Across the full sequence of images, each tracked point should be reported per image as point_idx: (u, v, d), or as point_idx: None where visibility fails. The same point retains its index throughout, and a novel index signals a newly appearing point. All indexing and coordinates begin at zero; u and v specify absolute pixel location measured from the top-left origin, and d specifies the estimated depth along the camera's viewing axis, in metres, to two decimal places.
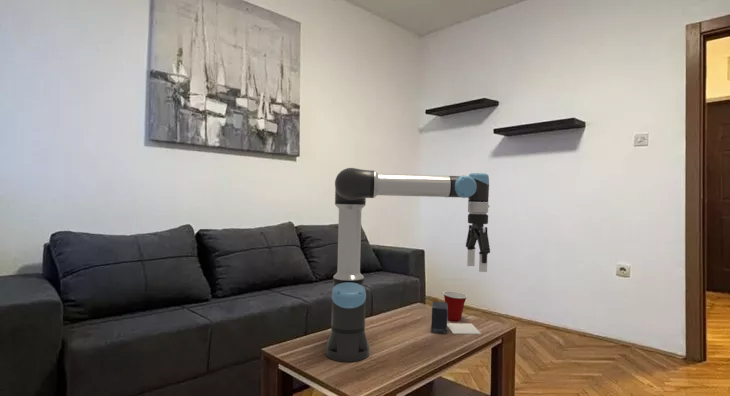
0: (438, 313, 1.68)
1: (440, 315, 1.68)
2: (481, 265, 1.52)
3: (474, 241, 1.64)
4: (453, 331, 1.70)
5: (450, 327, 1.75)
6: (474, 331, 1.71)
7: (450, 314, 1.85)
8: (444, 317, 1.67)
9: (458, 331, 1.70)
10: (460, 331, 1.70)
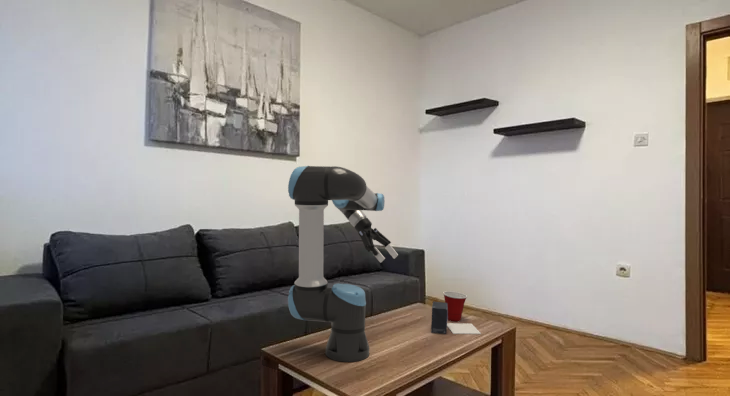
0: (438, 313, 1.68)
1: (439, 315, 1.68)
2: None
3: None
4: (453, 331, 1.70)
5: (450, 327, 1.75)
6: (474, 331, 1.71)
7: (450, 314, 1.85)
8: (444, 317, 1.67)
9: (458, 331, 1.70)
10: (460, 331, 1.70)
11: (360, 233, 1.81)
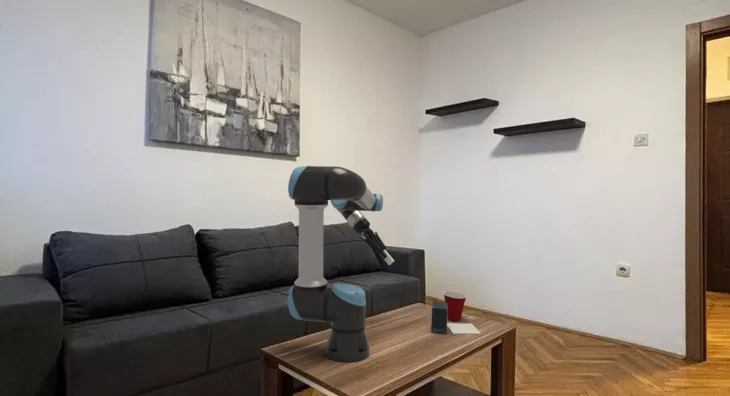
0: (438, 313, 1.68)
1: (439, 315, 1.68)
2: None
3: None
4: (453, 331, 1.70)
5: (450, 327, 1.75)
6: (474, 331, 1.71)
7: (450, 314, 1.85)
8: (444, 317, 1.67)
9: (458, 331, 1.70)
10: (460, 331, 1.70)
11: (363, 237, 1.81)
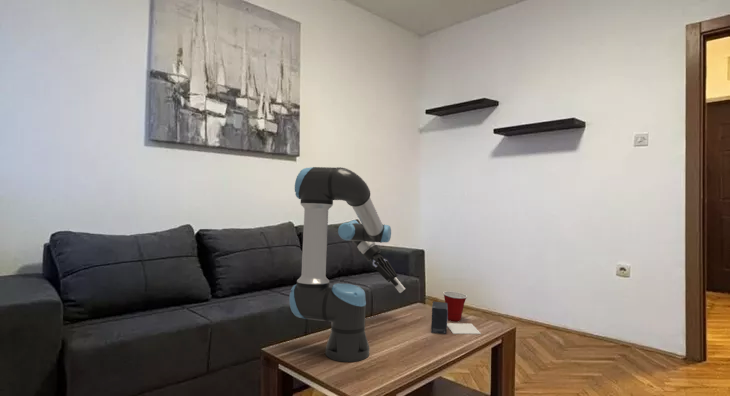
0: (438, 313, 1.68)
1: (439, 315, 1.68)
2: None
3: None
4: (453, 331, 1.70)
5: (450, 327, 1.75)
6: (474, 331, 1.71)
7: (450, 314, 1.85)
8: (444, 317, 1.67)
9: (458, 331, 1.70)
10: (460, 331, 1.70)
11: (374, 265, 1.81)
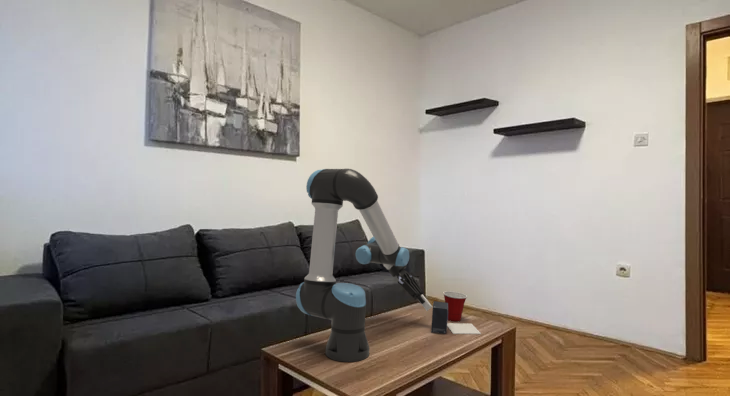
0: (438, 312, 1.68)
1: (440, 315, 1.68)
2: None
3: None
4: (453, 331, 1.70)
5: (450, 327, 1.75)
6: (474, 331, 1.71)
7: (450, 314, 1.85)
8: (444, 317, 1.67)
9: (458, 331, 1.70)
10: (460, 331, 1.70)
11: (401, 282, 1.75)
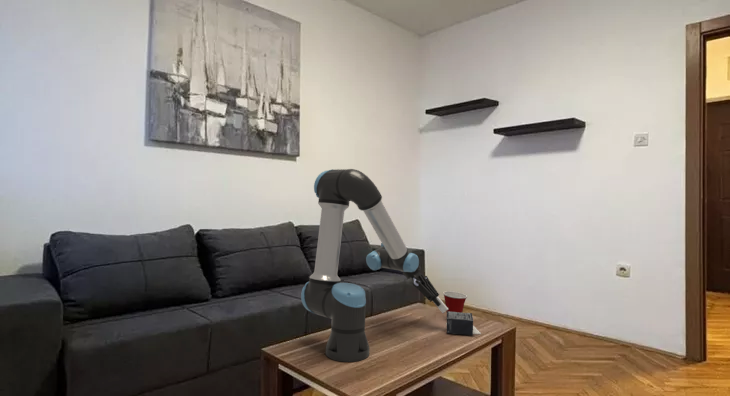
0: (467, 326, 1.65)
1: (465, 328, 1.66)
2: None
3: None
4: None
5: None
6: (474, 331, 1.71)
7: None
8: (463, 332, 1.66)
9: None
10: None
11: (416, 284, 1.71)
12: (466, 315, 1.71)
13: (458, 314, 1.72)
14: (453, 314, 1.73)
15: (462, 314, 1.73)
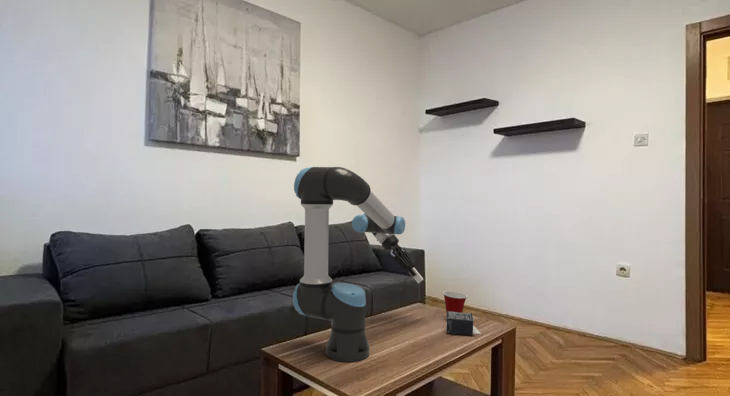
0: (467, 326, 1.65)
1: (465, 328, 1.66)
2: None
3: None
4: None
5: None
6: (474, 331, 1.71)
7: None
8: (463, 332, 1.66)
9: None
10: None
11: (392, 255, 1.79)
12: (466, 315, 1.71)
13: (458, 314, 1.72)
14: (453, 314, 1.73)
15: (462, 314, 1.73)
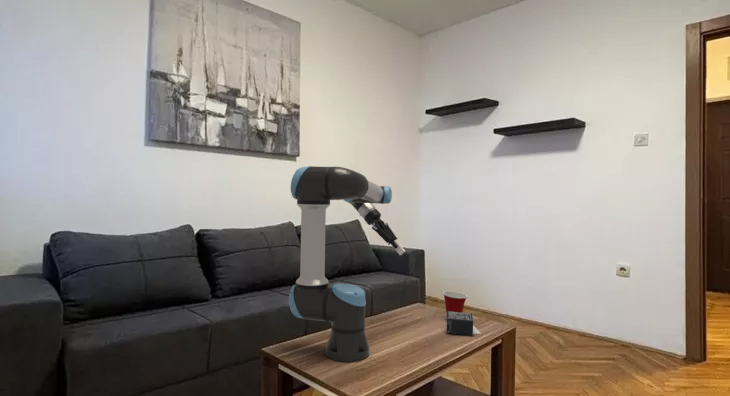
0: (467, 326, 1.65)
1: (465, 328, 1.66)
2: None
3: None
4: None
5: None
6: (474, 331, 1.71)
7: None
8: (463, 332, 1.66)
9: None
10: None
11: (374, 228, 1.83)
12: (466, 315, 1.71)
13: (458, 314, 1.72)
14: (453, 314, 1.73)
15: (462, 314, 1.73)
